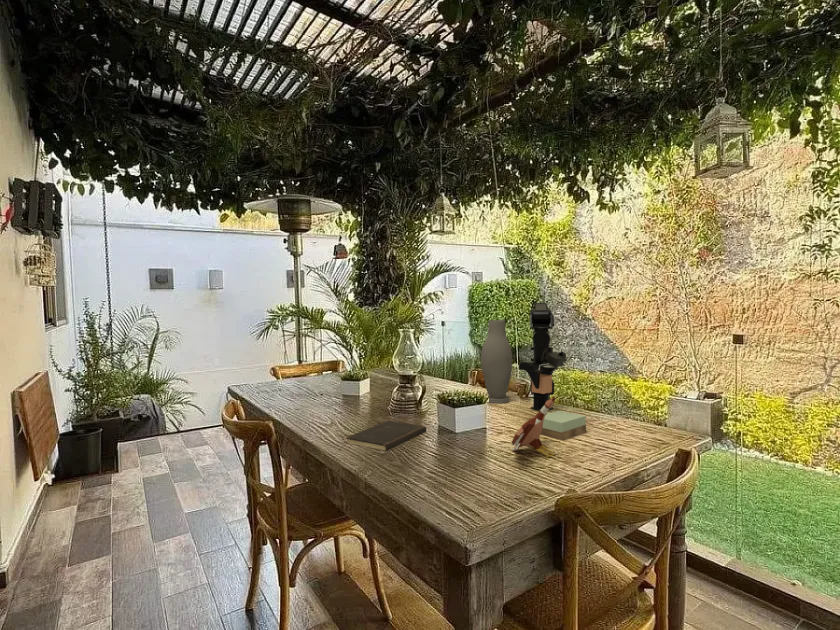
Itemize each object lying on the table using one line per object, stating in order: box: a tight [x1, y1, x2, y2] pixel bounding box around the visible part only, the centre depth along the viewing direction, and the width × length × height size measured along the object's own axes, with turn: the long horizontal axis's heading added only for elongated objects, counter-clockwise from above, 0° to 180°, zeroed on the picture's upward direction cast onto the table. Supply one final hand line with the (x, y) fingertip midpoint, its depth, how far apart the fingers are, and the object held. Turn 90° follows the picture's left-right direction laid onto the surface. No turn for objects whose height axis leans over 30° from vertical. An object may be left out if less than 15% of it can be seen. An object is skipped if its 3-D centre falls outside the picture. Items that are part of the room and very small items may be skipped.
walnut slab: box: [540, 424, 587, 441], centre depth 153 cm, size 13×10×3 cm
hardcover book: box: [344, 420, 427, 452], centre depth 153 cm, size 16×23×2 cm
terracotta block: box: [532, 374, 553, 394], centre depth 167 cm, size 5×5×6 cm
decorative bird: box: [511, 395, 557, 458], centre depth 133 cm, size 28×18×15 cm, turn 151°
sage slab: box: [543, 410, 587, 433], centre depth 153 cm, size 13×10×3 cm
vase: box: [480, 319, 513, 404], centre depth 201 cm, size 13×13×35 cm
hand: (541, 387), depth 167 cm, fingers closed on terracotta block, 5 cm apart
